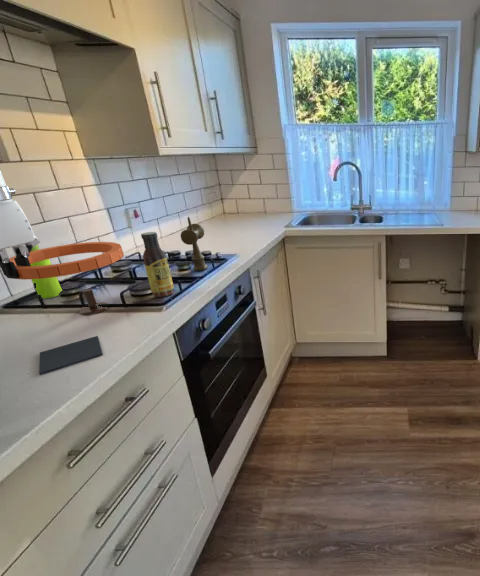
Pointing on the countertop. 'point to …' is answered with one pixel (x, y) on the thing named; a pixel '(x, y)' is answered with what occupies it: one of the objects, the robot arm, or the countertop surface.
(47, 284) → the soap dispenser
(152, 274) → the sauce bottle
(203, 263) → the kendama
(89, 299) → the post
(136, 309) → the countertop surface
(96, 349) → the pad
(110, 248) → the ring
